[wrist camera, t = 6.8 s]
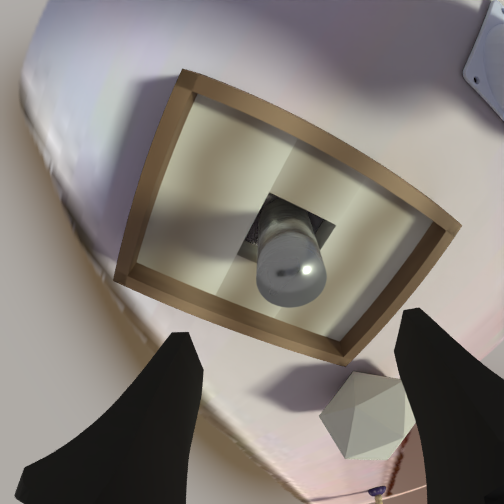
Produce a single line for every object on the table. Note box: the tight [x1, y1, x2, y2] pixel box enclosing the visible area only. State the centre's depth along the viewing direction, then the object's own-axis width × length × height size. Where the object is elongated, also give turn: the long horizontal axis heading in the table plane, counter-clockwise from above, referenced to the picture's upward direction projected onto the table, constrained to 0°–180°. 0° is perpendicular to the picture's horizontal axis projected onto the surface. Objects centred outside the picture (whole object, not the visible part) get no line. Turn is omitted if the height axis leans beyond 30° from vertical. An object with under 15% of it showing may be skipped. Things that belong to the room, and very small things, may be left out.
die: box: [319, 371, 416, 460], centre depth 23 cm, size 8×9×10 cm
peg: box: [256, 198, 327, 308], centre depth 15 cm, size 3×3×6 cm
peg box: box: [113, 69, 462, 367], centre depth 17 cm, size 16×12×4 cm
